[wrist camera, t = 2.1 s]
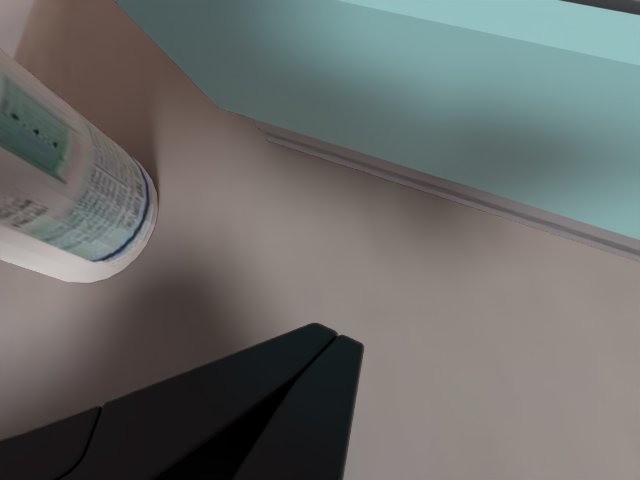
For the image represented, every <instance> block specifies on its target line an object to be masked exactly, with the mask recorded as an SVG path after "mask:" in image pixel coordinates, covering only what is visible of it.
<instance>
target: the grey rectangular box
mask: <svg viewBox="0 0 640 480" xmlns="http://www.w3.org/2000/svg"><path fill="white" fill-rule="evenodd" d="M560 1H565V2H571V3H576V4H581V5H587V6H592V7H597V8H603V9H608V10H614V11H619V12H624V13H630V14H635V15H640V0H560ZM253 121H254V122H255V124H256V125H257V126H258V128H259V129H260V131H261V132H262V134H263V135H264V137H265V138H266V140H267V141H270V142H273V143H277V144H280V145H283V146H286V147H289V148H292V149H295V150H298V151H301V152H304V153H307V154H310V155H313V156H316V157H320V158H323V159H326V160H329V161H332V162H335V163H338V164H341V165H344V166H347V167H350V168H353V169H356V170H359V171H362V172H366V173H369V174H372V175H375V176H378V177H381V178H384V179H387V180H390V181H393V182H396V183H399V184H402V185H405V186H409V187H412V188H415V189H418V190H421V191H424V192H427V193H430V194H433V195H436V196H439V197H442V198H445V199H448V200H451V201H455V202H458V203H461V204H464V205H467V206H470V207H473V208H476V209H479V210H482V211H485V212H488V213H491V214H494V215H498V216H501V217H504V218H507V219H510V220H513V221H516V222H519V223H522V224H525V225H528V226H531V227H534V228H537V229H540V230H544V231H547V232H550V233H553V234H556V235H559V236H562V237H565V238H568V239H571V240H574V241H577V242H580V243H583V244H587V245H590V246H593V247H596V248H599V249H602V250H605V251H608V252H611V253H614V254H617V255H620V256H623V257H626V258H629V259H633V260H636V261H639V262H640V240H638V239H635V238H632V237H628V236H625V235H622V234H619V233H616V232H612V231H609V230H606V229H603V228H600V227H597V226H593V225H590V224H587V223H584V222H581V221H577V220H574V219H571V218H568V217H565V216H561V215H558V214H555V213H552V212H549V211H545V210H542V209H539V208H536V207H533V206H530V205H526V204H523V203H520V202H517V201H514V200H510V199H507V198H504V197H501V196H498V195H494V194H491V193H488V192H485V191H482V190H479V189H475V188H472V187H469V186H466V185H463V184H459V183H456V182H453V181H450V180H447V179H443V178H440V177H437V176H434V175H431V174H427V173H424V172H421V171H418V170H415V169H412V168H408V167H405V166H402V165H399V164H396V163H392V162H389V161H386V160H383V159H380V158H376V157H373V156H370V155H367V154H364V153H361V152H357V151H354V150H351V149H348V148H345V147H341V146H338V145H335V144H332V143H329V142H325V141H322V140H319V139H316V138H313V137H309V136H306V135H303V134H300V133H297V132H294V131H290V130H287V129H284V128H281V127H278V126H274V125H271V124H268V123H265V122H262V121H258V120H255V119H253Z"/></svg>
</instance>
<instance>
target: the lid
mask: <svg viewBox="0 0 640 480" xmlns="http://www.w3.org/2000/svg"><path fill="white" fill-rule="evenodd" d="M114 1H115V2H116V3H117V4H118V5H119V6H120V7H121V8H122V9H123V10H124V11H125V12H126V13H127V14H128V15H129V17H130V18H131V19H132V20H133V21H134V22H135V23H136V24H137V25H138V26H139V27H140V28H141V29H142V30H143V31H144V32H145V33H146V34H147V35H148V36H149V37H150V38H151V39H152V40H153V41H154V42H155V43H156V44H157V45H158V46H159V47H160V48H161V50H162V51H163V52H164V53H165V54H166V55H167V56H168V57H169V58H170V59H171V60H172V61H173V62H174V63H175V64H176V65H177V66H178V67H179V68H180V69H181V70H182V71H183V72H184V73H185V74H186V75H187V76H188V77H189V78H190V79H191V80H192V81H193V83H194V84H195V85H196V86H197V87H198V88H199V89H200V90H201V91H202V92H203V93H204V94H205V95H206V96H207V97H208V98H209V99H210V100H211V101H212V102H213V103H214V104H215V105H216V106H217V107H218V108H220V109H223V110H227V111H230V112H233V113H236V114H239V115H243V116H246V117H249V118H252V119H255V120H258V121H262V122H265V123H268V124H271V125H274V126H278V127H281V128H284V129H287V130H290V131H294V132H297V133H300V134H303V135H306V136H309V137H313V138H316V139H319V140H322V141H325V142H329V143H332V144H335V145H338V146H341V147H345V148H348V149H351V150H354V151H357V152H361V153H364V154H367V155H370V156H373V157H376V158H380V159H383V160H386V161H389V162H392V163H396V164H399V165H402V166H405V167H408V168H412V169H415V170H418V171H421V172H424V173H427V174H431V175H434V176H437V177H440V178H443V179H447V180H450V181H453V182H456V183H459V184H463V185H466V186H469V187H472V188H475V189H479V190H482V191H485V192H488V193H491V194H494V195H498V196H501V197H504V198H507V199H510V200H514V201H517V202H520V203H523V204H526V205H530V206H533V207H536V208H539V209H542V210H545V211H549V212H552V213H555V214H558V215H561V216H565V217H568V218H571V219H574V220H577V221H581V222H584V223H587V224H590V225H593V226H597V227H600V228H603V229H606V230H609V231H612V232H616V233H619V234H622V235H625V236H628V237H632V238H635V239H638V240H640V15H635V14H630V13H624V12H619V11H614V10H608V9H603V8H597V7H592V6H587V5H581V4H576V3H571V2H565V1H560V0H114Z"/></svg>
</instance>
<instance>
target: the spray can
mask: <svg viewBox="0 0 640 480" xmlns="http://www.w3.org/2000/svg"><path fill="white" fill-rule="evenodd" d="M157 212H158V201H157V192H156V189H155V187H154V184H153V181H152V179H151V178H150V176H149V175H148V173H147V172H146V171H145V169H144V168H143V167H142V165H141V164H140V163H139V162H138V161H137V160H135V159H134V158H133V157H132V156H131V155H129V154H128V153H127V152H126V151H124V150H123V149H122V148H121V147H120V146H118V145H117V144H116V143H115V142H114V141H112V140H111V139H110V138H109V137H107V136H106V135H105V134H104V133H103V132H101V131H100V130H99V129H98V128H97V127H95V126H94V125H93V124H92V123H90V122H89V121H88V120H87V119H86V118H84V117H83V116H82V115H81V114H79V113H78V112H77V111H76V110H75V109H73V108H72V107H71V106H70V105H69V104H67V103H66V102H65V101H64V100H62V99H61V98H60V97H59V96H58V95H56V94H55V93H54V92H53V91H52V90H50V89H49V88H48V87H47V86H45V85H44V84H43V83H42V82H41V81H39V80H38V79H37V78H36V77H34V76H33V75H32V74H31V73H30V72H28V71H27V70H26V69H25V68H24V67H22V66H21V65H20V64H19V63H17V62H16V61H15V60H14V59H13V58H11V57H10V56H9V55H8V54H6V53H5V52H4V51H3V50H2V49H0V260H3V261H6V262H9V263H12V264H15V265H18V266H21V267H24V268H27V269H30V270H33V271H36V272H39V273H42V274H45V275H48V276H51V277H54V278H57V279H60V280H63V281H66V282H82V283H91V282H96V281H100V280H104V279H107V278H109V277H111V276H113V275H115V274H117V273H118V272H120V271H122V270H123V269H125V268H126V267H127V266H128V265H129V264H130V263H131V262H133V261H134V260H135V259H136V258H137V257H138V255H139V254H140V253H141V251H142V250H143V249H144V247H145V246H146V244H147V243H148V241H149V239H150V236H151V234H152V232H153V230H154V227H155V223H156V218H157Z"/></svg>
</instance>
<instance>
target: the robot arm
mask: <svg viewBox="0 0 640 480" xmlns="http://www.w3.org/2000/svg"><path fill="white" fill-rule="evenodd" d="M363 353H364V345H363V344H362V343H360V342H358V341H356V340H354V339H352V338H350V337H347V336H345V335H338V333H337V332H336V331H334V330H332V329H330V328H328V327H326V326H324V325H322V324H319V323H311V324H308V325H306V326H303V327H300V328H298V329H295V330H293V331H290V332H288V333H285V334H282V335H280V336H277V337H275V338H272V339H269V340H267V341H264V342H262V343H259V344H256V345H254V346H251V347H249V348H246V349H243V350H241V351H238V352H236V353H233V354H230V355H228V356H225V357H223V358H220V359H217V360H215V361H212V362H210V363H207V364H204V365H202V366H199V367H197V368H194V369H191V370H189V371H186V372H184V373H181V374H178V375H176V376H173V377H171V378H168V379H165V380H163V381H160V382H158V383H155V384H152V385H150V386H147V387H145V388H142V389H140V390H137V391H134V392H132V393H129V394H127V395H124V396H121V397H119V398H116V399H114V400H111V401H108V402H106V403H104V404H103V406H102V408H101V406H95V407H92V408H90V409H87V410H84V411H82V412H79V413H77V414H74V415H71V416H69V417H66V418H63V419H60V420H58V421H55V422H52V423H49V424H46V425H44V426H41V427H38V428H35V429H33V430H30V431H27V432H24V433H21V434H18V435H15V436H11V437H8V438H5V439H2V440H0V480H343V477H344V470H345V464H346V458H347V452H348V446H349V439H350V433H351V427H352V421H353V415H354V408H355V402H356V396H357V390H358V384H359V377H360V371H361V365H362V359H363Z"/></svg>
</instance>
